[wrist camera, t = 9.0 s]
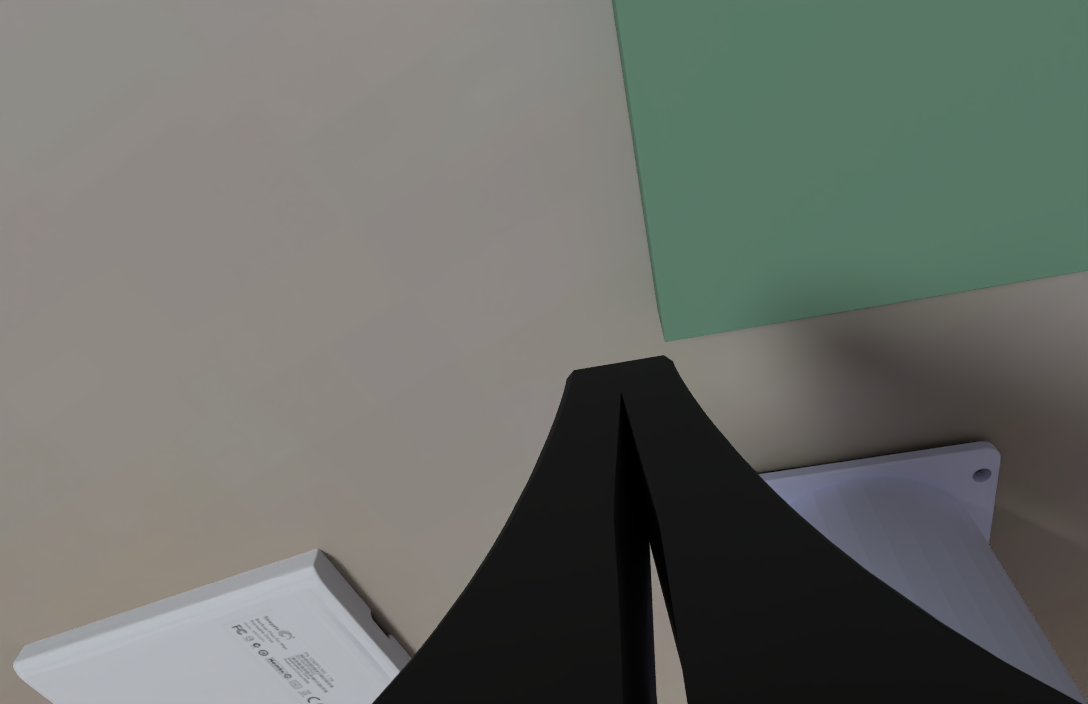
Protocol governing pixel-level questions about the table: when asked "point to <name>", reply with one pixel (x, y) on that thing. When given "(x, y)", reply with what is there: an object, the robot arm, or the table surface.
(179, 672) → the external hard drive
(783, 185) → the putting deck
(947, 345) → the table surface
